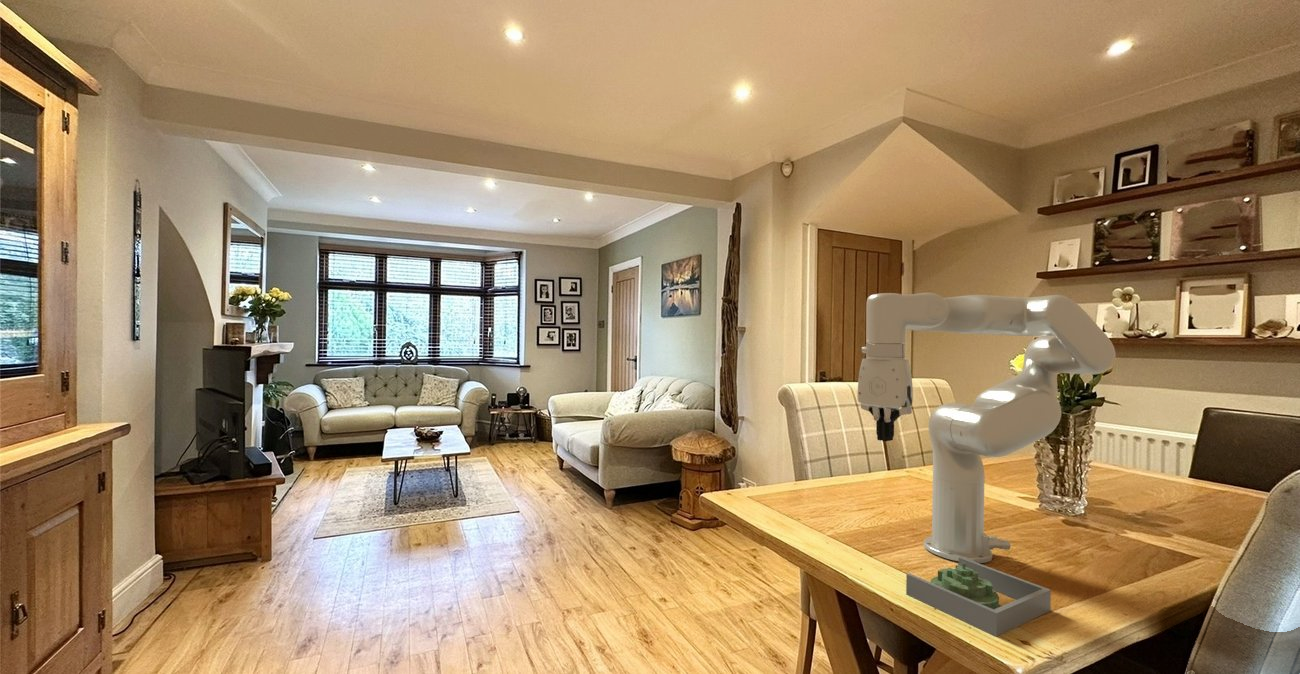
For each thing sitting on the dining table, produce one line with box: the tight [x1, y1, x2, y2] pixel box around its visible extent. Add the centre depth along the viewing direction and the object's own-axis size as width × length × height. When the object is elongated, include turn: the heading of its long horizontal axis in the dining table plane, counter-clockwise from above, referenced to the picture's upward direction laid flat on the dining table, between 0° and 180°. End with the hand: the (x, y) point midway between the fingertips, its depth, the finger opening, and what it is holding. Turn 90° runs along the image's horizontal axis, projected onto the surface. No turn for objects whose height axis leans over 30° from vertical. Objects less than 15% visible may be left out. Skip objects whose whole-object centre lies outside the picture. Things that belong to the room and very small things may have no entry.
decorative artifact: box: [929, 563, 1000, 609], centre depth 88 cm, size 10×7×10 cm
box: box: [905, 557, 1052, 637], centre depth 89 cm, size 15×17×4 cm
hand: (885, 440), depth 108 cm, fingers closed
